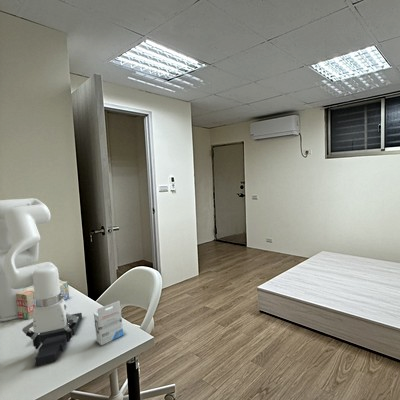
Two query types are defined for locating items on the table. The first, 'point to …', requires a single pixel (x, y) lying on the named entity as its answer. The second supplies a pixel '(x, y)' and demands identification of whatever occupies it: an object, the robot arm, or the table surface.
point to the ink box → (108, 323)
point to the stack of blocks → (33, 300)
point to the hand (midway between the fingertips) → (53, 343)
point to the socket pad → (61, 331)
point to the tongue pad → (50, 349)
